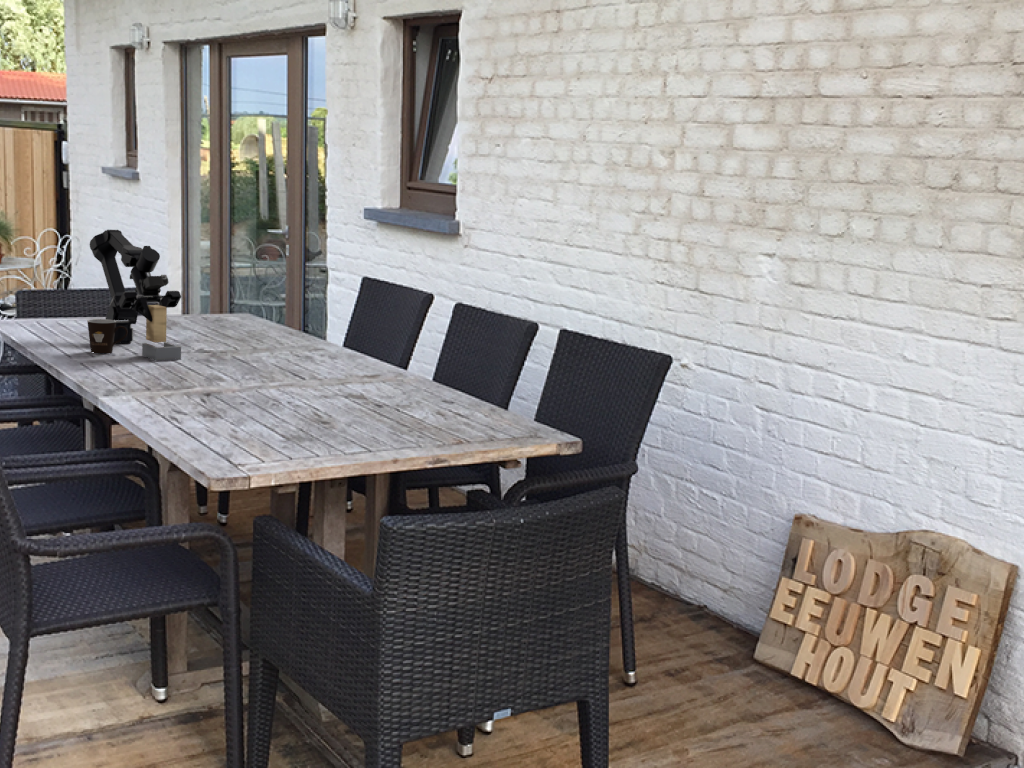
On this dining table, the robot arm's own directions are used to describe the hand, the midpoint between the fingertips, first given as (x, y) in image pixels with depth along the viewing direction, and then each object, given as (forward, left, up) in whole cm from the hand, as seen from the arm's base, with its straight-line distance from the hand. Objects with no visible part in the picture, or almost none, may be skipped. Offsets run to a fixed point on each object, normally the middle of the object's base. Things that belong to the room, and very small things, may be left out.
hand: (158, 320), depth 379 cm
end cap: (+1, -2, -11) cm, 12 cm away
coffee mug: (-16, +3, -12) cm, 20 cm away
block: (-1, +1, -7) cm, 7 cm away
